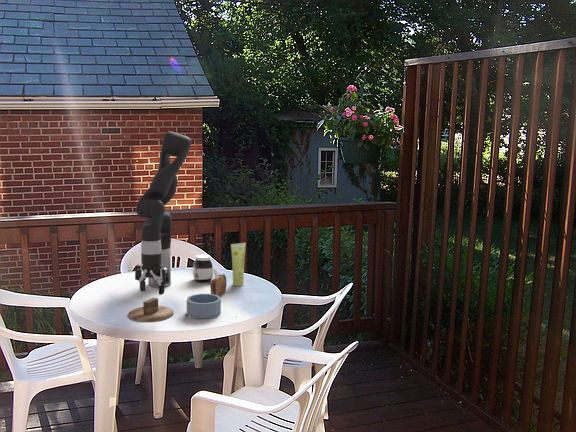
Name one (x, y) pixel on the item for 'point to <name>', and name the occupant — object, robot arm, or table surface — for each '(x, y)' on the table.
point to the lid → (150, 312)
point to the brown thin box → (218, 285)
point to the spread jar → (203, 269)
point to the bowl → (203, 306)
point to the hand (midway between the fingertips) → (152, 292)
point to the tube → (238, 263)
